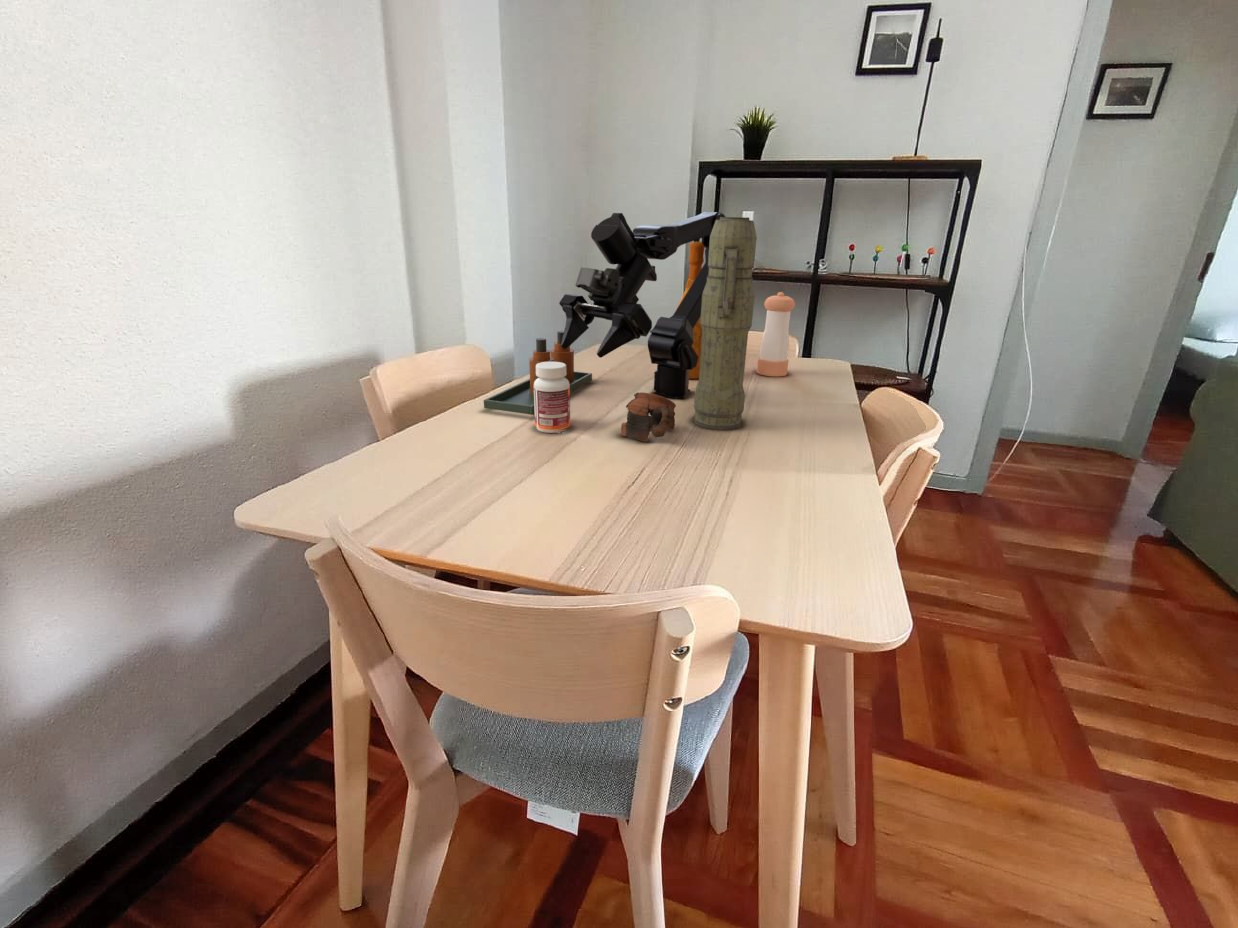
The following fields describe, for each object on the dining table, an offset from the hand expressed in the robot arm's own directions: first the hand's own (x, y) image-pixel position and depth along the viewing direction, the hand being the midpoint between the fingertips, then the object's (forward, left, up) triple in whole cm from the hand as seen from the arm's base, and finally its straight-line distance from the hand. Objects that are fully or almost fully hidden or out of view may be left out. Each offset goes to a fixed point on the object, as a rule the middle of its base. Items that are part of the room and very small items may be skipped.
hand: (580, 351), depth 107 cm
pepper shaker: (-27, -53, -13) cm, 61 cm away
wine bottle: (-9, -42, -13) cm, 45 cm away
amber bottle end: (+14, -21, -12) cm, 28 cm away
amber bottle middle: (+14, -11, -12) cm, 21 cm away
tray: (+14, -11, -13) cm, 22 cm away
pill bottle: (+3, +6, -13) cm, 14 cm away
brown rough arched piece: (-14, +3, -13) cm, 19 cm away
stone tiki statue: (-23, -9, -13) cm, 28 cm away
